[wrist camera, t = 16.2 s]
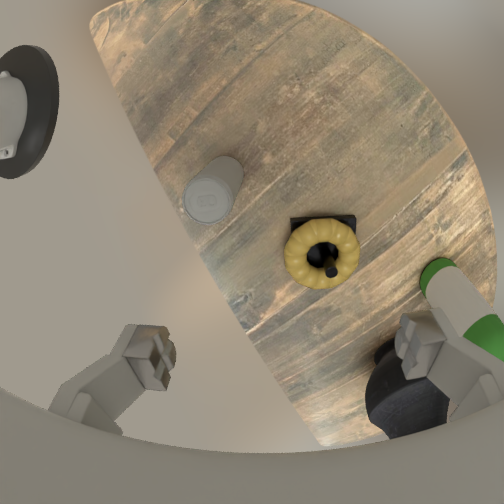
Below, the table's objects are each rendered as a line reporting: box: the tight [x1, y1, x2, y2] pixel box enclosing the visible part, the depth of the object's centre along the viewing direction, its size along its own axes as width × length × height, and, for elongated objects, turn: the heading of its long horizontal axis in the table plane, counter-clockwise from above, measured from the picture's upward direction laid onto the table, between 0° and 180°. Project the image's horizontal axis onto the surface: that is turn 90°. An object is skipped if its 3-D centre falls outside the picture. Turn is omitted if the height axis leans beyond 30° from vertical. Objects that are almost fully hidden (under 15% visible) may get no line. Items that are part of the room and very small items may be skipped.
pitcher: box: [365, 338, 450, 439], centre depth 36 cm, size 17×21×30 cm
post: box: [290, 215, 356, 278], centre depth 36 cm, size 9×9×7 cm
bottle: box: [420, 258, 504, 362], centre depth 27 cm, size 8×8×30 cm
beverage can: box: [182, 156, 244, 225], centre depth 30 cm, size 5×5×12 cm
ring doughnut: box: [284, 218, 360, 289], centre depth 37 cm, size 10×10×3 cm
